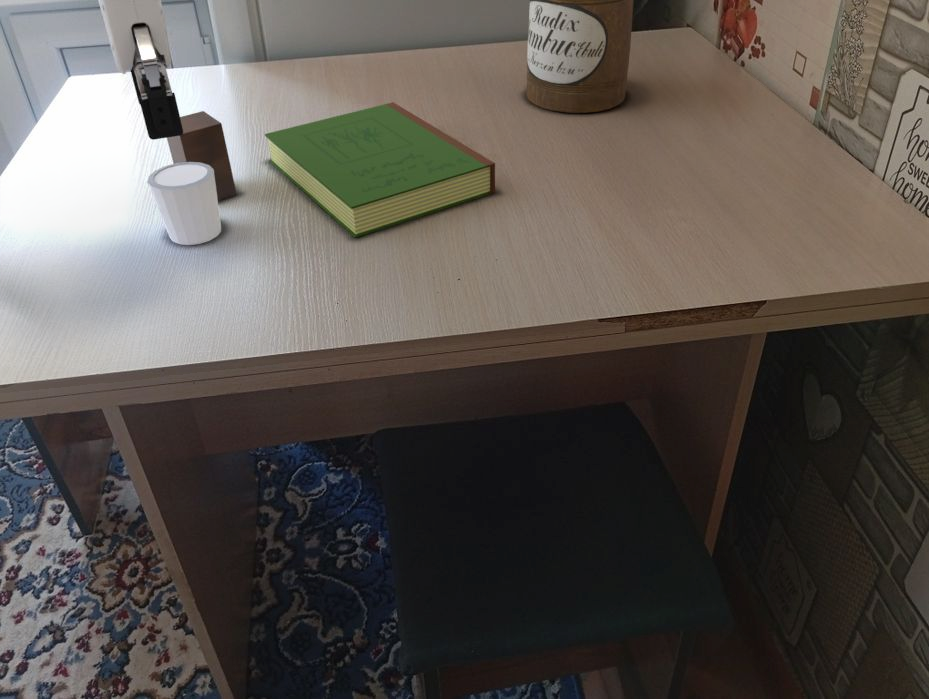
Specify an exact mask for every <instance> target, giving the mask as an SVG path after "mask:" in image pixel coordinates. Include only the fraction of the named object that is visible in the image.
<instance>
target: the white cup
mask: <svg viewBox="0 0 929 699" xmlns="http://www.w3.org/2000/svg"><path fill="white" fill-rule="evenodd" d="M147 184H148V187H149V190H150V192H151V195H152V198H153V199H154V203H155V204H156V207H157V210H158V212H159V215H160V218H161V220H162V222H163V224H164V227H165V230H166V232H167V235H168V237H169V239H170V240H171V241H172V242H173V243H174V244H177V245H181V246H182V245H183V246H195V245H201V244H203V243H208V242H210V241H212V240H213V239H215V238H217V237H218V236H219V235H220V233H222V223H221V215H220V206H219V201H218V199H217V191H216V184H215V176H214V169H213V168H212V167H211V166H210V165H207V164H204V163H199V162H183V163H175V164H173V163H172V164H168V165H165V166H162V167H160V168H158V169H156V170H154V171H153V172H152V173H150V175H149V176H147Z"/></svg>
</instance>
